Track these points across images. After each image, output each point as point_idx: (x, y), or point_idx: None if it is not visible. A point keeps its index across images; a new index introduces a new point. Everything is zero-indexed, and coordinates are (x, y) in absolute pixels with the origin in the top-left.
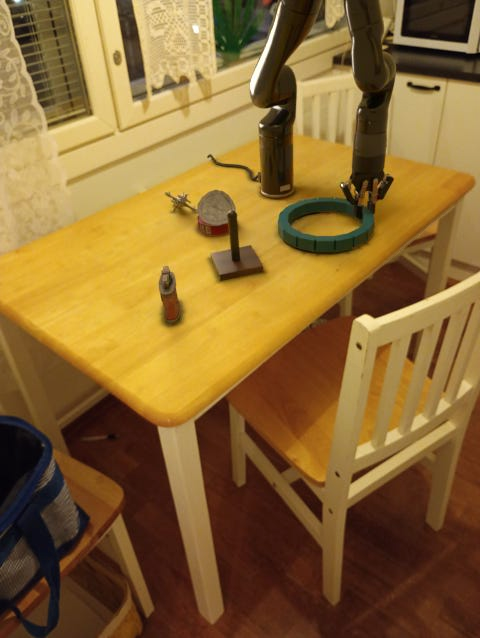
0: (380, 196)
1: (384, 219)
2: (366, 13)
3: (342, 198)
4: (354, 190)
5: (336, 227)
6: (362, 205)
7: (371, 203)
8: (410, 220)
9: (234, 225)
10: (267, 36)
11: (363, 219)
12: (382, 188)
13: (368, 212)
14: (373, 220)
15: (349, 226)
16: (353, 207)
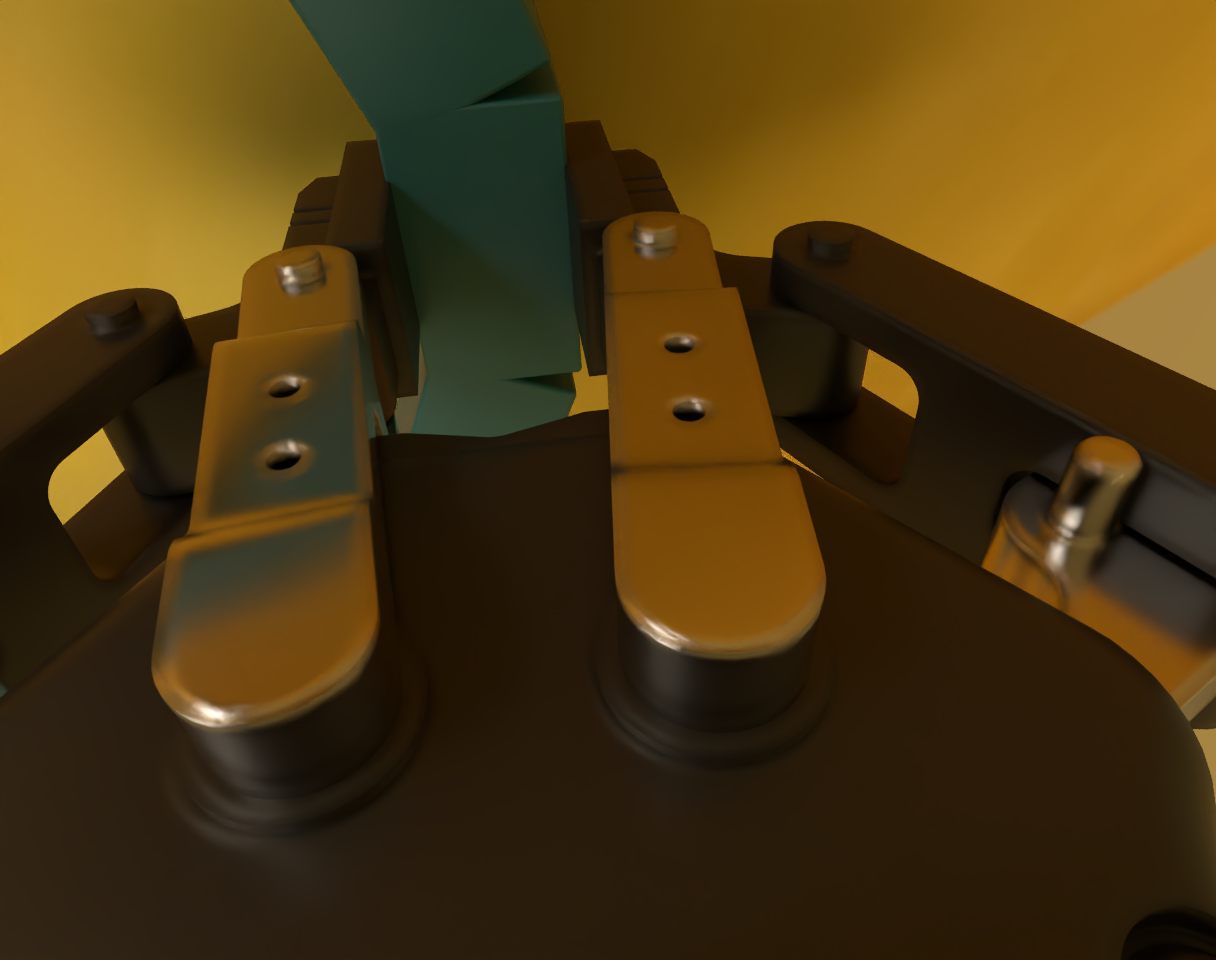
0: (785, 443)
1: (798, 135)
2: None
3: None
4: (214, 361)
5: (30, 170)
6: (509, 61)
7: (604, 351)
8: (1050, 252)
9: None
10: None
11: (412, 397)
12: (908, 477)
13: (519, 346)
14: None
15: (247, 194)
16: (314, 37)
